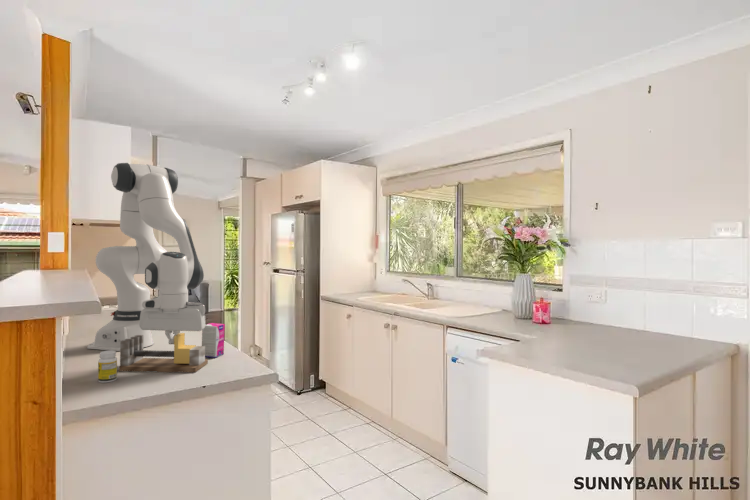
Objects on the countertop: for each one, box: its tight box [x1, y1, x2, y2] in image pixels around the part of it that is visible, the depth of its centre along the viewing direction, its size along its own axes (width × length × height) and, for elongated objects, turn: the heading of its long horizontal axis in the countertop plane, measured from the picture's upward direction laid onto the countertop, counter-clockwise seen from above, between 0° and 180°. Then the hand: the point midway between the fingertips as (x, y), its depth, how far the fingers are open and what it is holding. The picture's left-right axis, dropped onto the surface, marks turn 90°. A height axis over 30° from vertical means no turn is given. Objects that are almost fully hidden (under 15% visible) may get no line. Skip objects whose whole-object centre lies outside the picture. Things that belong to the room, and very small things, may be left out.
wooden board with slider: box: [118, 335, 209, 373], centre depth 138 cm, size 24×10×9 cm, turn 91°
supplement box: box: [201, 322, 226, 359], centre depth 153 cm, size 6×6×12 cm
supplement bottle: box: [97, 350, 118, 384], centre depth 124 cm, size 5×5×8 cm
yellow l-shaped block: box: [173, 332, 197, 364], centre depth 138 cm, size 5×5×9 cm
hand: (172, 344), depth 138 cm, fingers closed
